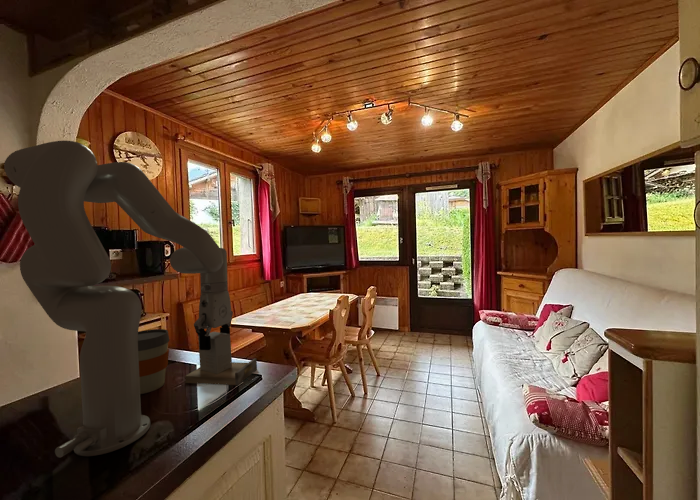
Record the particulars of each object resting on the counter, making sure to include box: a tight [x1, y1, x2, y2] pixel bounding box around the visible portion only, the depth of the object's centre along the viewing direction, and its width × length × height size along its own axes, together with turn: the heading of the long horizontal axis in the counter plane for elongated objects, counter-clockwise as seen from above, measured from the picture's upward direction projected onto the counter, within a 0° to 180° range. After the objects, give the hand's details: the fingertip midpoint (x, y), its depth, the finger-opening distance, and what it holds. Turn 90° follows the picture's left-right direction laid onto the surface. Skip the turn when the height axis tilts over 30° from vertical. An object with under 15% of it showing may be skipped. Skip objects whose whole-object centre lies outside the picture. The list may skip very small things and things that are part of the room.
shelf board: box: [184, 358, 258, 386], centre depth 91 cm, size 11×17×4 cm, turn 80°
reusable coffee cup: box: [138, 328, 170, 395], centre depth 86 cm, size 13×13×15 cm
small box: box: [197, 331, 233, 374], centre depth 92 cm, size 8×6×10 cm
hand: (215, 344), depth 91 cm, fingers open, 9 cm apart
